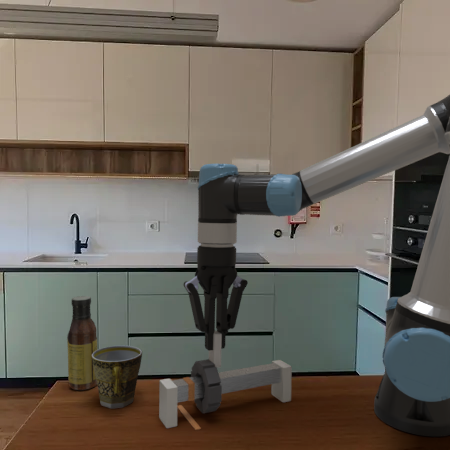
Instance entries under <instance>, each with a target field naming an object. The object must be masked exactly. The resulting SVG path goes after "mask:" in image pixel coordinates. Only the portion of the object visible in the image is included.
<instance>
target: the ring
mask: <svg viewBox="0 0 450 450" xmlns="http://www.w3.org/2000/svg"><path fill="white" fill-rule="evenodd" d="M196 376H202V378H203V381H204V385H205V397H203V398H198V399H195V400H193V401H194V404H195V405H196V406H195V407H196V408H197V410H199V411H200V412H201V414H208V413H212V412H216V411H217V410H219V407H221V406H222V405H221V402H222V395H223V394H222V386H221V385H220V383H221V380H220V377H219V371H218V368H217V367H215V364H214V363H213V362H211V361H210V360H209V358H208V359H203V360H202V359H201V360H195V362H194V363H193V365H192V367H191V371H190V377H196Z"/></svg>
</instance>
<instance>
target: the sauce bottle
mask: <svg viewBox="0 0 450 450" xmlns="http://www.w3.org/2000/svg"><path fill="white" fill-rule="evenodd" d="M91 305H92V297H91V296H89V295H81V296H79V295H78V296H73V297H72V298H71V306H72V316H71V317H72V319H71V324H70V327H69V330H68V333H67V335H66V336H67V337H66V338H67V339H66V340H67V370H68V371H67V373H68V374H67V377H68V382H69V383H68V384H69V387H70V388H71V389H72V390H75V391H85V390H91V389H92V388H95V387H96V386H98V385H97V379H96V376H95V372H94V367H93V361H92V354H93V353H94V352H95V351H96V350H98V337H97V326H96V323H95V322H94V320H93V319H92V316H91V315H92V314H91Z"/></svg>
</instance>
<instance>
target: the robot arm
mask: <svg viewBox="0 0 450 450" xmlns="http://www.w3.org/2000/svg"><path fill="white" fill-rule="evenodd" d="M438 153H442V154H446V155H449V156H448V159H447V160H448V161H447V164H446V166H445V169H444V173H443V177H442V181H441V184H440V188H439V191H438V194H437V199H436V202H435V205H434V208H433V212H432V214H431V218H430V223H429V226H428V230H427V234H426V236H425V240H424V244H423V248H422V250H421V254H420V258H419V260H418V264H417V267H416V268H417V269H416V272H415V275H414V278H413V281H412V286H411V289H410V292H408V293H407V294H404V295H403V296H392V297H389V298H388V299H387V301H386V308H385V309H384V311H385V313H386V316H385V334H384V335H385V337H384V346H383V351H382V362H383V363H382V364H383V367H384V373H383V376H382V378H381V381H380V383H379V386H378V389H377V392H376V394H375V397H374V403H373V405H374V407H373V409H374V413H375V415H376V416H377V418H378V419H379V420H380V421H382V422H383V423H384V424H386V425H388V426H390V427H392V428H394V429H396V430H399V431H402V432H405V433H408V434H413V435H415V436H422V437H433V438H434V437H435V438H437V437H438V438H440V437H448V436H450V94H449V95H447V96H445V97H444V98H443V99H441V100H439V101H437V102H436V103H432V104H431V105H428V106H427V107H426V108H425V111H424V113H423V114H422V115H420V116H417V117H416V118H413V119H411V120H409V121H407V122H404V123H402V124H400V125H398V126H396V127H393V128H391V129H389V130H387V131H385V132H383V133H380V134H378V135H376V136H374V137H371V138H369V139H366V140H364V141H363V142H360V143H358V144H356V145H354V146H352V147H349V148H347V149H345V150H343V151H341V152H338V153H335V154H334V155H332V156H329V157H328V158H324V159H322V160H320V161H318V162H316V163H314V164H312V165H309V166H308V167H307V166H306V167H305V168H303V169H301V170H299V171H297V172H293V173H292V174H285V173H277V174H271V173H270V174H240V172H239V168H238V166H237V165H234V164H232V163H231V164H230V163H206V164H203V165H202V166H201V167H200V169H199V175H198V186H197V190H198V195H197V197H198V198H197V199H198V201H197V202H198V203H197V205H198V219H197V242H198V244H200V245H198V247H197V248H196V249H197V252H196V253H197V254H196V255H197V256H196V257H197V258H196V259H197V260H196V263H197V268H196V270H195V272H194V277H193V278H191V279H190V280H189V281H188V280H186V281H184V282H183V287H184V289H185V290H186V292H187V294H188V298H189V302H190V308H191V312H192V318H193V321H194V325H195V329H197V330H198V331H199V332H201V333H204V347H205V349H206V350H207V351H208V359H209V360H210V361H211V362H213V363H214V364H215V367H217V369H221V368H222V350H223V349H225V348H226V335H227V334H229V330H233V329H234V328H235V327H236V324H237V318H238V316H239V315H238V314H239V309H240V306H241V301H242V299H243V292H244V291H245V289H246V287H247V285H248V280H246V279H244V278H242V277H241V276H238V271H237V269H236V264H237V248H236V246H234V244H237V239H238V237H237V236H238V235H237V234H238V233H237V232H238V230H237V229H238V224H237V222H238V218H237V217H238V215H240V216H243V215H250V216H251V215H252V216H273V217H275V216H276V217H279V218H280V217H286V216H287V217H289V216H290V217H291V216H296V215H298V214H299V212H301V211H302V210H304V209H306V208H309V207H310V206H313V205H315V204H318V203H320V202H322V201H324V200H325V201H326V200H327V199H329V198H331V197H335V196H337V195H340V194H341V193H344V192H347V191H348V190H350V189H351V190H352V189H354V188H356V187H358V186H361V185H363V184H366V183H368V182H371V181H372V180H373V181H374V180H375V179H378V178H380V177H383V176H385V175H387V174H390V173H391V172H394V171H397V170H399V169H402V168H404V167H407V166H408V165H411V164H415V163H416V162H418V161H422V160H423V159H426V158H428V157H430V156H433V155H435V154H438ZM199 286H200V287H201V289H202V290H203V297H204V305H203V306H204V311H203V307H202V302H201V298H200V297H201V296H200V294H199V291H198V290H199ZM231 286H232V289H231V292H230V294H229V291H230V288H231ZM229 295H230V296H229ZM228 298H229V301H228ZM215 329H216V330H215Z"/></svg>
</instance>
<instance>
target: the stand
mask: <svg viewBox="0 0 450 450" xmlns="http://www.w3.org/2000/svg"><path fill="white" fill-rule="evenodd" d="M271 363H274V364H276V365H278V366H279V367H281V368H282V377H281V382H280V383H275V384H271V390H270V391H271V392H270V393H271V395H272V396H273V397H275V398H276V399H278V401H280V402H282V403H286V402H287V403H288V402H291V401H292V376H293V375H292V374H293V373H292V372H293V371H292V370H293V369H292V368H293V367H292V366H291V365H290V364H288V363H286V362H284V361H282V360H281V359H277V360H271ZM172 380H173V379H171V378H164V379H160V380H159V391H158V392H159V399H158V400H159V401H158V402H159V403H158V404H159V407H158V409H159V410H158V411H159V412H158V414H159V415H158V418H159V420H160V421H161V423H162V424H163V426H164V427H165V428H166V429H170V428H175V427H177V426H178V411H179V412H180V413H181V414H182V416H183V417H184V418H185V419H186V421H187V422H188V423H189V424H190V425H191V426H192V428H193V429H194V431H199V430H201V429H202V427H200V425H199V423H197V422H196V421H195V419H194V418H193V417H192V416H191V415H190V413H189V412H188V411H187V410H186V409H185V408H184V406H183V405H182V404H179V405H178V403H177V392H178V387H177V386H176V385H175V384H174V383H173V382H172Z"/></svg>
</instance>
